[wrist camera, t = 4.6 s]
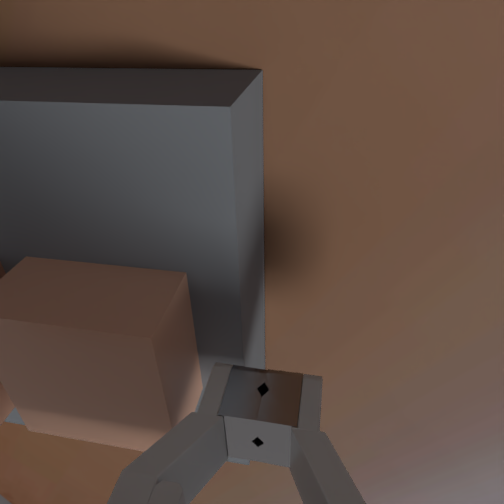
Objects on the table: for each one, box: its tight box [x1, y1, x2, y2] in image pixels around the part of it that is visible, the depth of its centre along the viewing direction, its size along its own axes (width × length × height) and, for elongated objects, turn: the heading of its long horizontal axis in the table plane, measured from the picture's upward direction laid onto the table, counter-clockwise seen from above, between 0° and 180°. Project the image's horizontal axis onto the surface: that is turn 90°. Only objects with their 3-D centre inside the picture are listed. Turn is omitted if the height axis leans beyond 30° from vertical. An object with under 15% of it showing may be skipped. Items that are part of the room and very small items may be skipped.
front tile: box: [0, 256, 203, 452], centre depth 12 cm, size 5×5×2 cm
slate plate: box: [0, 67, 265, 465], centre depth 15 cm, size 14×14×4 cm
